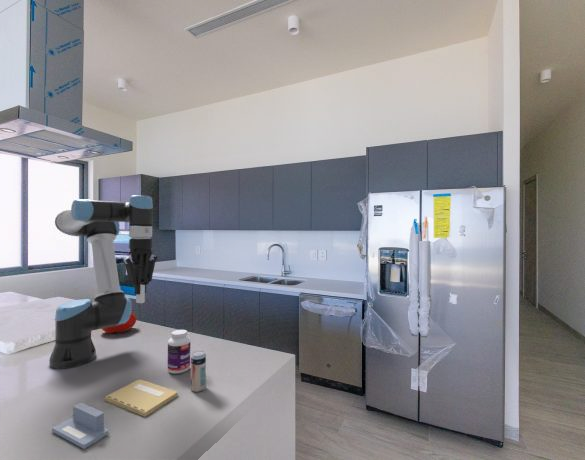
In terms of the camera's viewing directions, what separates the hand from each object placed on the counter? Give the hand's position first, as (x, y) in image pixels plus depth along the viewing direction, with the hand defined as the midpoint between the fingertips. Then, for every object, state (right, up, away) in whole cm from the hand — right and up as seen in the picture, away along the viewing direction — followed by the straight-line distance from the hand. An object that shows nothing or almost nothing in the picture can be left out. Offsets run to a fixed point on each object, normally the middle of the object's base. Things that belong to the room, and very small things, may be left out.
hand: (140, 302), depth 109 cm
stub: (0, -26, -31) cm, 41 cm away
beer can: (+24, -27, -9) cm, 37 cm away
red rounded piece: (-34, -26, +45) cm, 62 cm away
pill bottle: (+13, -27, +4) cm, 30 cm away
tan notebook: (+8, -27, -15) cm, 32 cm away
